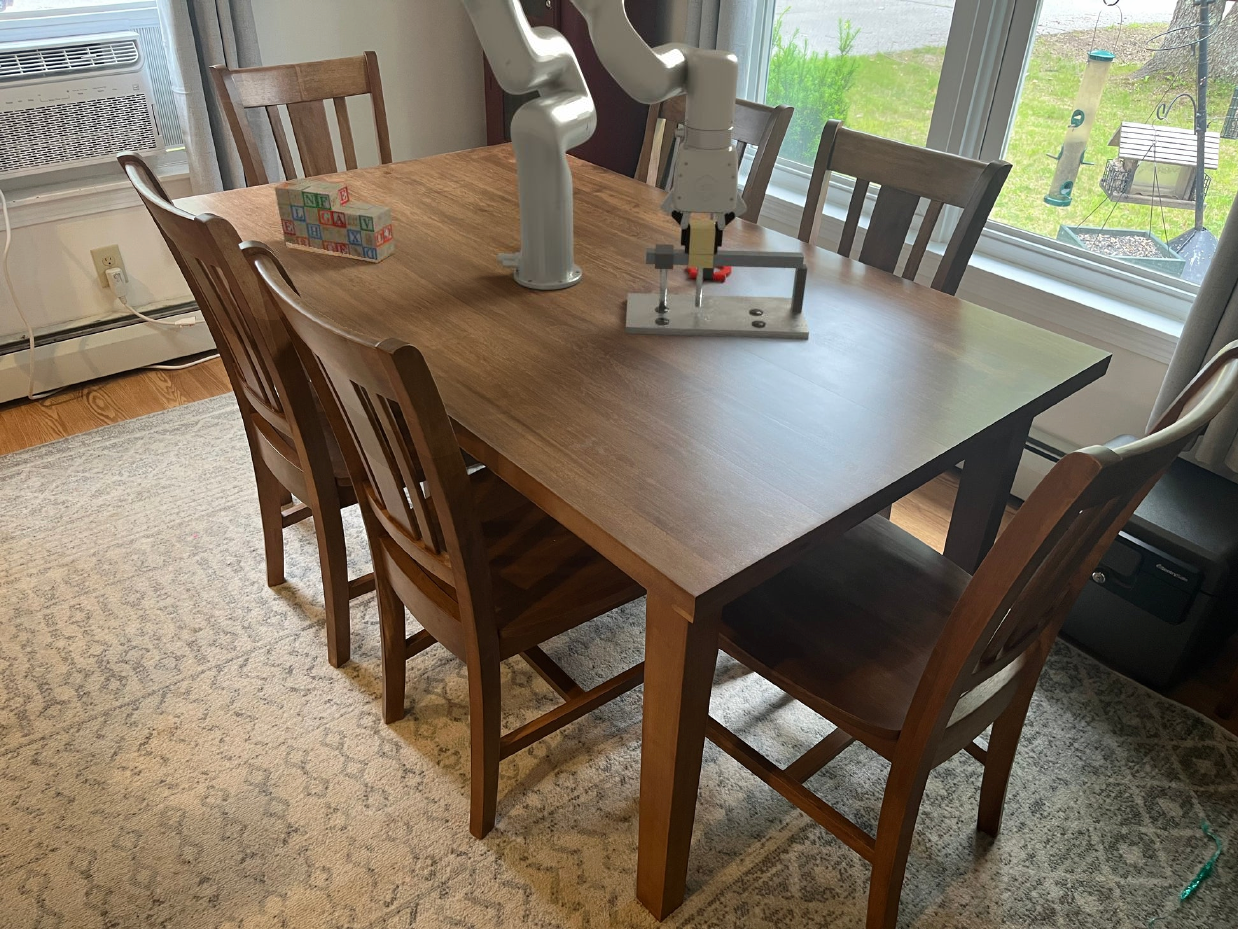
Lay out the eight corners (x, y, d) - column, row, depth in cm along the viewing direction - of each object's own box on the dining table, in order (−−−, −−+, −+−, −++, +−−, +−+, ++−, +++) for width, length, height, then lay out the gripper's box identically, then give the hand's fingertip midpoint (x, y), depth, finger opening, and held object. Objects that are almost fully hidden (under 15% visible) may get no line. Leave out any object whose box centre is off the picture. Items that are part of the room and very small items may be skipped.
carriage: (686, 306, 162) (690, 228, 154) (685, 296, 165) (689, 219, 158) (709, 307, 161) (715, 229, 154) (708, 296, 165) (714, 220, 158)
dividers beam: (644, 310, 162) (646, 253, 157) (644, 299, 166) (646, 243, 160) (802, 315, 162) (810, 258, 156) (799, 304, 165) (806, 248, 160)
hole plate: (625, 333, 157) (625, 326, 157) (627, 299, 169) (627, 292, 168) (808, 338, 157) (809, 331, 156) (797, 304, 168) (798, 297, 168)
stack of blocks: (396, 253, 186) (389, 191, 179) (378, 264, 181) (370, 200, 174) (304, 238, 192) (294, 177, 185) (284, 248, 187) (273, 185, 181)
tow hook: (688, 263, 185) (684, 279, 177) (693, 197, 178) (689, 210, 171) (732, 267, 184) (729, 283, 176) (738, 200, 177) (736, 214, 170)
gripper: (654, 142, 145) (650, 257, 155) (764, 145, 145) (753, 259, 155) (654, 129, 152) (650, 240, 162) (760, 132, 151) (749, 243, 161)
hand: (700, 248), depth 158 cm, fingers closed on carriage, 4 cm apart
